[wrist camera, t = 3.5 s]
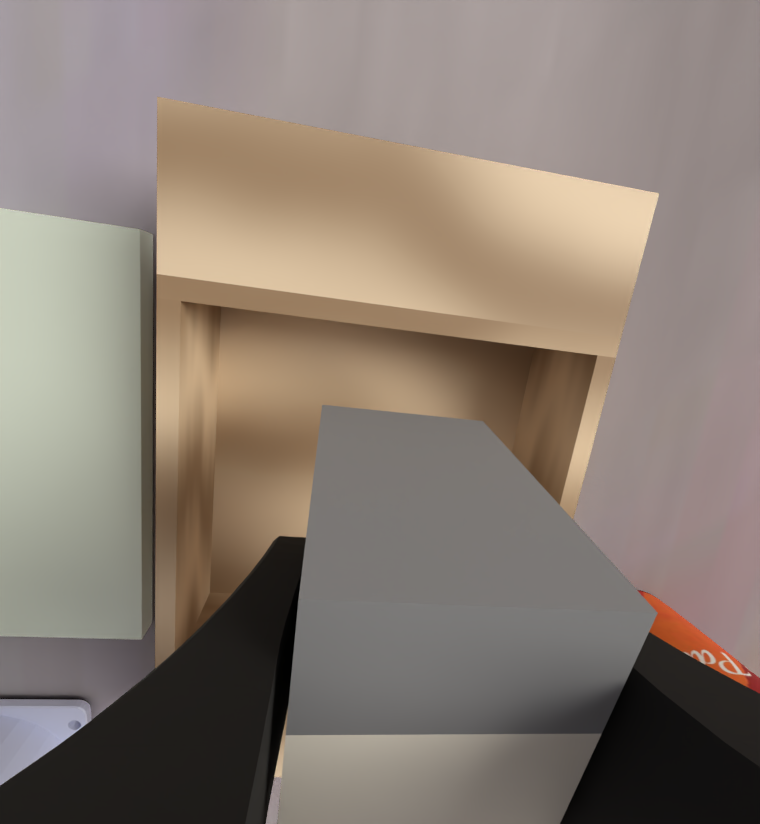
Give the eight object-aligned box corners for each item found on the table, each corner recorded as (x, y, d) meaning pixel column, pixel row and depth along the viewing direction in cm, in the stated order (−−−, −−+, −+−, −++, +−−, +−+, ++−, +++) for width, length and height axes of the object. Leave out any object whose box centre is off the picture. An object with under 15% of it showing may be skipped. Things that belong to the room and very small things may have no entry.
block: (426, 657, 13) (494, 964, 7) (297, 655, 12) (261, 984, 7) (483, 421, 10) (658, 613, 5) (322, 404, 10) (298, 599, 4)
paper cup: (704, 568, 21) (1405, 1064, 7) (669, 691, 22) (1174, 1272, 9) (557, 571, 20) (1042, 1146, 6) (533, 699, 22) (867, 1357, 8)
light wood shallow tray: (470, 675, 21) (506, 772, 16) (196, 671, 19) (154, 779, 15) (569, 224, 16) (658, 193, 11) (212, 162, 14) (157, 96, 10)
